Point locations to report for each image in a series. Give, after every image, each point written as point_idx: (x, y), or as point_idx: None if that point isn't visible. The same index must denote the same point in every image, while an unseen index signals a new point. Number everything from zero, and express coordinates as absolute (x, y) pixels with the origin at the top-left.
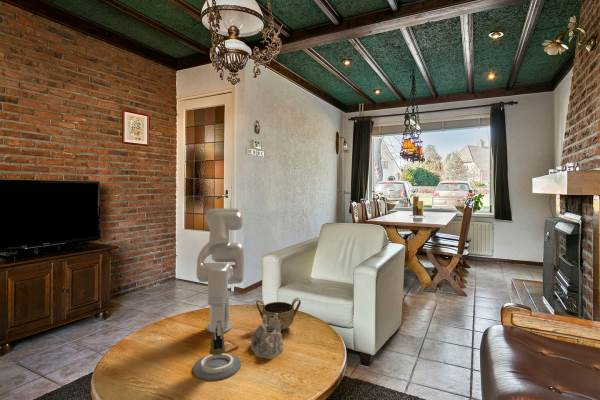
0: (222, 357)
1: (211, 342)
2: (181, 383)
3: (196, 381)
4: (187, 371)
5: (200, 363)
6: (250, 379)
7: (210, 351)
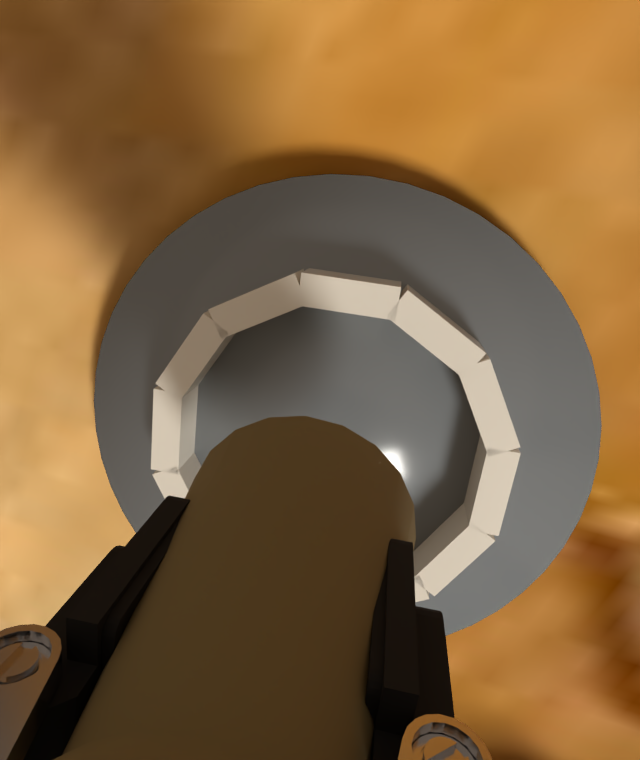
0: (442, 529)
1: (228, 528)
2: (163, 14)
3: (148, 183)
4: (391, 110)
5: (443, 280)
6: (43, 600)
7: (262, 434)
